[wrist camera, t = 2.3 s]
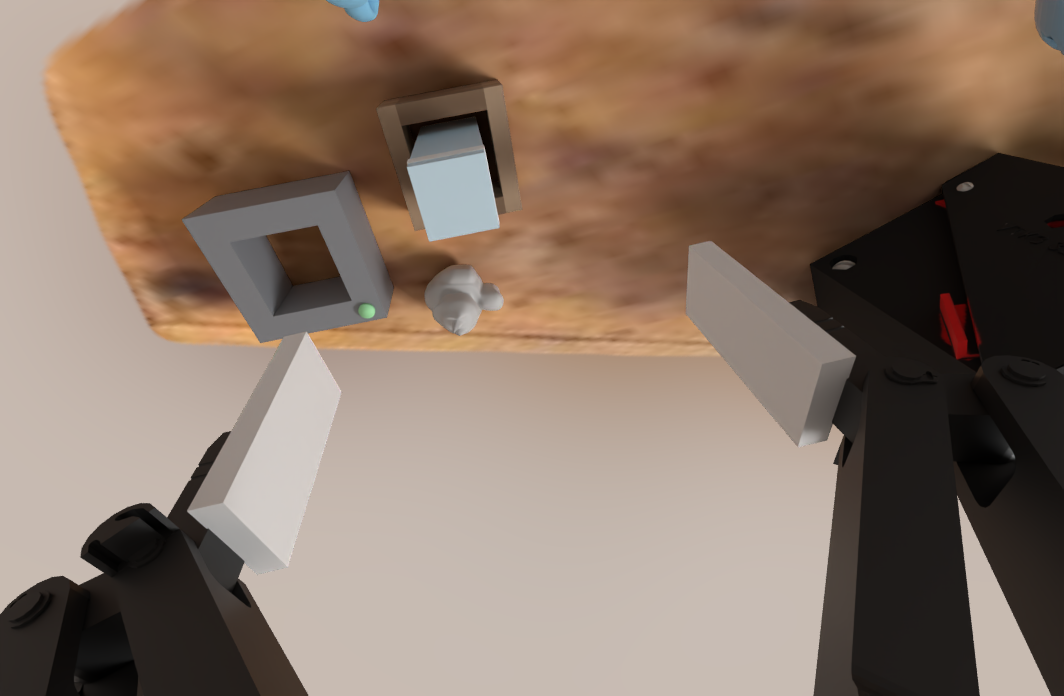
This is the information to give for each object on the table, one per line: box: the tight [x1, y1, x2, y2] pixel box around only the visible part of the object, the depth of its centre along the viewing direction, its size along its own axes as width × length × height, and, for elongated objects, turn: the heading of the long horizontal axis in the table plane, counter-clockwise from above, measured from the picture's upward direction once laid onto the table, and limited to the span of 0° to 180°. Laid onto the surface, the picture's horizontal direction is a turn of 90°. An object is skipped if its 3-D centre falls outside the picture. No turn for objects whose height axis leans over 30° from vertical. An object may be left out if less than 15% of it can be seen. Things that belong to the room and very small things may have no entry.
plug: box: [407, 116, 500, 242], centre depth 28 cm, size 4×4×12 cm
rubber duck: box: [425, 265, 504, 336], centre depth 36 cm, size 5×7×8 cm
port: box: [182, 171, 394, 343], centre depth 33 cm, size 10×10×5 cm
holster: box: [376, 80, 522, 231], centre depth 31 cm, size 8×8×4 cm
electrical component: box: [810, 153, 1064, 375], centre depth 36 cm, size 18×10×20 cm, turn 120°
